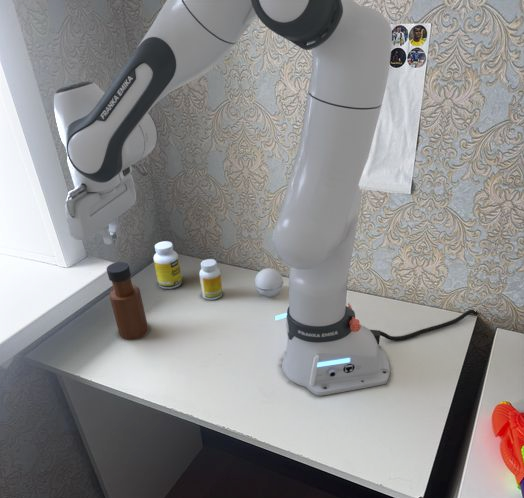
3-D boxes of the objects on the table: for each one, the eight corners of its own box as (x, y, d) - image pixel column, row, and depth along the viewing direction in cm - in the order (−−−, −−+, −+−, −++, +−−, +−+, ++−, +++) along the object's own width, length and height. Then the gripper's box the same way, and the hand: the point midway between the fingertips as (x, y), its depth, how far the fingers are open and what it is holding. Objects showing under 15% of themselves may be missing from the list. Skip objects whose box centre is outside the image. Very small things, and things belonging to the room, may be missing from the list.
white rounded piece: (249, 296, 130) (247, 271, 126) (267, 284, 135) (266, 260, 130) (280, 308, 125) (279, 283, 121) (297, 295, 130) (297, 270, 125)
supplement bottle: (198, 294, 132) (193, 262, 126) (214, 287, 135) (211, 255, 129) (209, 302, 129) (205, 269, 123) (226, 295, 131) (223, 262, 125)
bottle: (150, 322, 123) (138, 268, 114) (145, 339, 117) (132, 283, 108) (122, 324, 123) (108, 269, 114) (116, 340, 117) (101, 285, 108)
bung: (134, 277, 114) (130, 261, 111) (130, 288, 110) (126, 271, 108) (113, 278, 114) (109, 262, 111) (108, 289, 110) (104, 273, 108)
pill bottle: (171, 292, 134) (164, 252, 127) (153, 286, 137) (145, 247, 130) (187, 281, 138) (181, 242, 131) (169, 275, 141) (162, 237, 134)
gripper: (79, 196, 89) (98, 266, 97) (135, 160, 104) (147, 223, 112) (49, 194, 90) (70, 262, 99) (108, 159, 106) (122, 221, 114)
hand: (111, 241), depth 106 cm, fingers closed
